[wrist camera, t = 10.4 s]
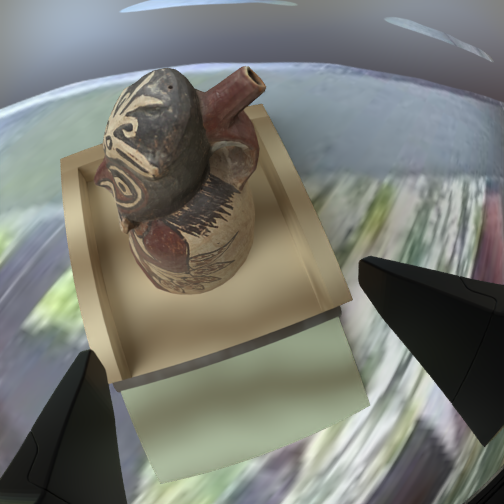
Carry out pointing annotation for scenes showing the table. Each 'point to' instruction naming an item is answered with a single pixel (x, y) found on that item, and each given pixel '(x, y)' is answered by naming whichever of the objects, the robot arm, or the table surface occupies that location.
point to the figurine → (184, 176)
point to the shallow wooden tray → (218, 325)
